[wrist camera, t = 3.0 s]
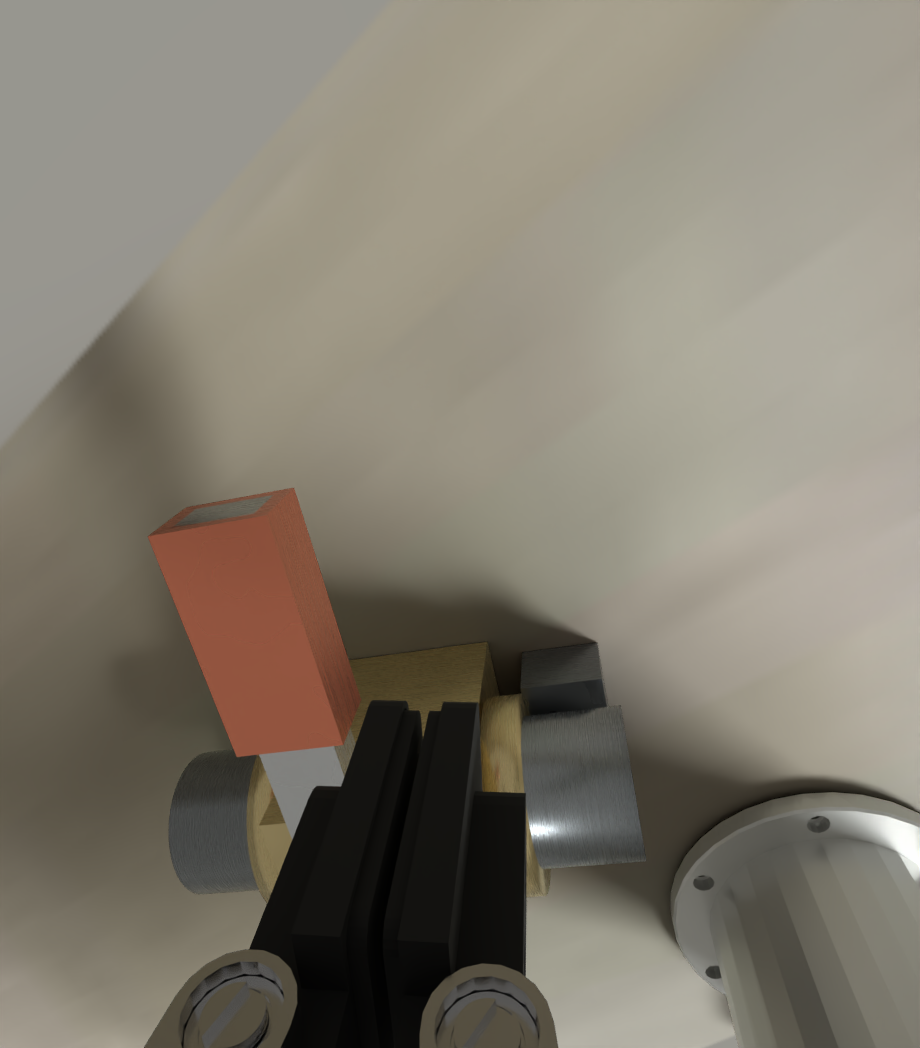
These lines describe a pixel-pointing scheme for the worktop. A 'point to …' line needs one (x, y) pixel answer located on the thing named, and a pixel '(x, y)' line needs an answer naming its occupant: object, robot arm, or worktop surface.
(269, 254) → the worktop surface
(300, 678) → the valve lever
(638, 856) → the ball valve
